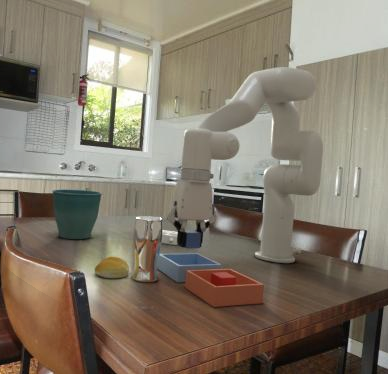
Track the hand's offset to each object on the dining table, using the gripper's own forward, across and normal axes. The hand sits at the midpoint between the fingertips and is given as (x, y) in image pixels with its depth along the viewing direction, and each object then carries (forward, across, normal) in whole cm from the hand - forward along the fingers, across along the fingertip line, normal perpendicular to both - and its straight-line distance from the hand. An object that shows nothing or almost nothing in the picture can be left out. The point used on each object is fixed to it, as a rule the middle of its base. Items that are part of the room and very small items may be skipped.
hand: (189, 245), depth 97 cm
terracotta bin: (+8, 0, +16) cm, 18 cm away
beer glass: (+8, +13, +2) cm, 15 cm away
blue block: (0, 0, 0) cm, 0 cm away
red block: (+7, 0, +16) cm, 18 cm away
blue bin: (+8, 0, 0) cm, 8 cm away
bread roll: (+8, +20, -3) cm, 22 cm away
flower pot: (+8, +20, -51) cm, 55 cm away
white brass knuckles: (+8, -15, -42) cm, 45 cm away
